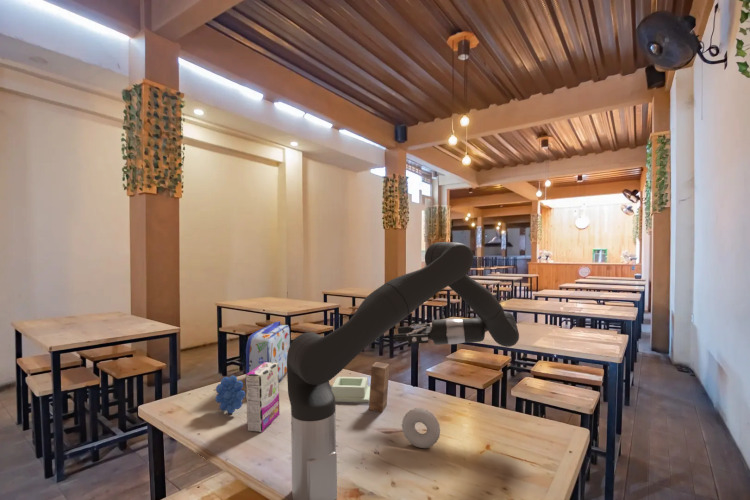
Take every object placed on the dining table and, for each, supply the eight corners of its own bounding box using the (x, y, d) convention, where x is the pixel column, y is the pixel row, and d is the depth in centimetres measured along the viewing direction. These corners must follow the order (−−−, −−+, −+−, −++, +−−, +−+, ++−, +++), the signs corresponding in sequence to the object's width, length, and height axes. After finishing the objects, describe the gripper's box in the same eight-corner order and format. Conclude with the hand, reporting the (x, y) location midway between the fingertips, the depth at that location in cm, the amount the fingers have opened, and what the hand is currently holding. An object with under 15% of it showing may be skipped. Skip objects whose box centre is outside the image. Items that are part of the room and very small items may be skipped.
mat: (378, 387, 136) (378, 386, 135) (374, 406, 120) (374, 405, 120) (329, 386, 137) (329, 385, 137) (319, 404, 121) (319, 403, 121)
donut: (400, 447, 95) (400, 408, 95) (404, 440, 98) (403, 403, 98) (438, 454, 92) (438, 414, 92) (441, 447, 95) (441, 408, 95)
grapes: (254, 410, 117) (254, 372, 117) (238, 419, 111) (238, 380, 111) (227, 404, 122) (226, 368, 122) (210, 413, 116) (209, 375, 116)
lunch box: (269, 369, 157) (268, 317, 157) (293, 369, 157) (292, 317, 156) (241, 395, 130) (241, 332, 130) (270, 395, 129) (270, 332, 129)
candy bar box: (265, 413, 115) (264, 361, 115) (280, 415, 114) (279, 362, 114) (245, 431, 104) (244, 373, 104) (261, 433, 103) (261, 374, 103)
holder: (372, 388, 134) (372, 376, 134) (368, 402, 122) (368, 389, 122) (334, 387, 135) (333, 375, 135) (326, 401, 123) (326, 387, 123)
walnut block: (386, 406, 119) (389, 364, 119) (382, 412, 115) (385, 368, 114) (373, 404, 120) (376, 361, 120) (368, 409, 116) (371, 366, 116)
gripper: (447, 314, 120) (398, 317, 123) (447, 325, 106) (391, 328, 109) (449, 337, 120) (400, 339, 123) (449, 351, 106) (394, 353, 109)
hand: (396, 334), depth 116 cm, fingers open, 8 cm apart
